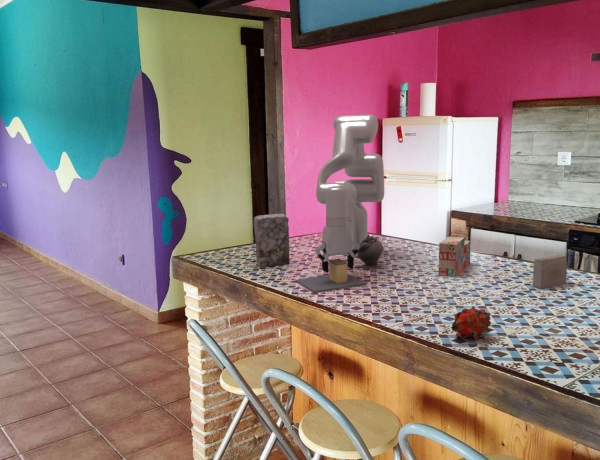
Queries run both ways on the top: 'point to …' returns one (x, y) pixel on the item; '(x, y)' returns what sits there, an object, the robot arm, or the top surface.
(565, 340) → the top surface
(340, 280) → the block
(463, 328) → the dragon fruit
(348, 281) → the mat
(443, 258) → the stack of blocks
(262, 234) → the stone block
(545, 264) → the taupe upright slab
